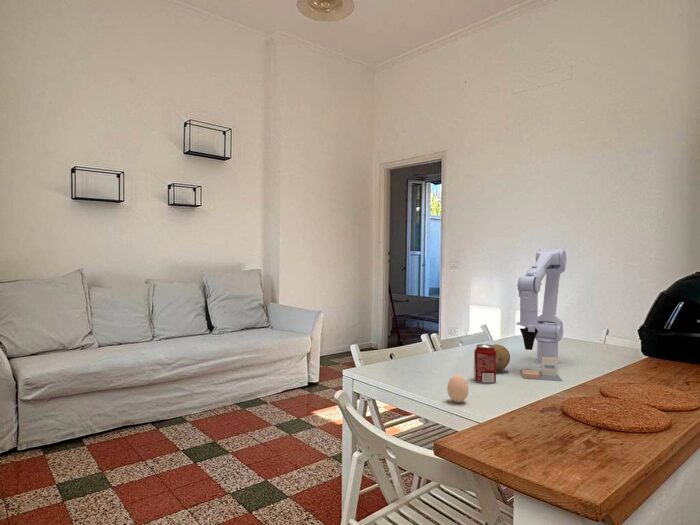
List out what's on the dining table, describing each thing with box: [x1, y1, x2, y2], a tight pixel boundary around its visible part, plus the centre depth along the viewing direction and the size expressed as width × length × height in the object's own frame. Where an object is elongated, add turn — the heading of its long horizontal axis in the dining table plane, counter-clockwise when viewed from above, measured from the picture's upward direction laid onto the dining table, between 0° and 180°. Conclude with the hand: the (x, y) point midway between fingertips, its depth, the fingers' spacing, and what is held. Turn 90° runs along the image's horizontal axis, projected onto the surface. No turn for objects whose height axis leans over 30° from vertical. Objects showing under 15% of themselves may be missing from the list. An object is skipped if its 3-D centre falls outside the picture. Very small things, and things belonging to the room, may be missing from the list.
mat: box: [519, 369, 564, 382], centre depth 155 cm, size 12×12×1 cm
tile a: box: [521, 369, 540, 380], centre depth 154 cm, size 2×5×6 cm
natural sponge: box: [492, 344, 511, 373], centre depth 161 cm, size 9×9×10 cm
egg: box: [446, 374, 469, 403], centre depth 127 cm, size 6×6×8 cm
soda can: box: [473, 343, 497, 385], centre depth 148 cm, size 7×7×12 cm
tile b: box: [540, 357, 559, 376], centre depth 156 cm, size 2×5×6 cm, turn 75°
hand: (528, 349), depth 159 cm, fingers closed
